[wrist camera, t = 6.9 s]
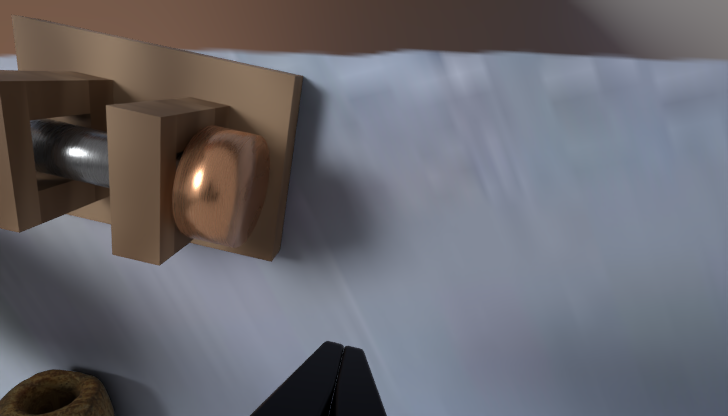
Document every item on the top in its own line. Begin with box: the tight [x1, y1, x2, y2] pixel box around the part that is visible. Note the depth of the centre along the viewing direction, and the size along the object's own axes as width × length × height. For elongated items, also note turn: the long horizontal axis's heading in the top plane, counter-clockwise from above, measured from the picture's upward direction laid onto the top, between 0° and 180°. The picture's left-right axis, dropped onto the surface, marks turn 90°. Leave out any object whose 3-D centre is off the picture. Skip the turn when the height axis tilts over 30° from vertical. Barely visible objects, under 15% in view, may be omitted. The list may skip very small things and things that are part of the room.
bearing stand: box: [0, 15, 303, 266], centre depth 17 cm, size 14×10×7 cm
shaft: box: [30, 118, 270, 248], centre depth 16 cm, size 12×5×5 cm, turn 79°
